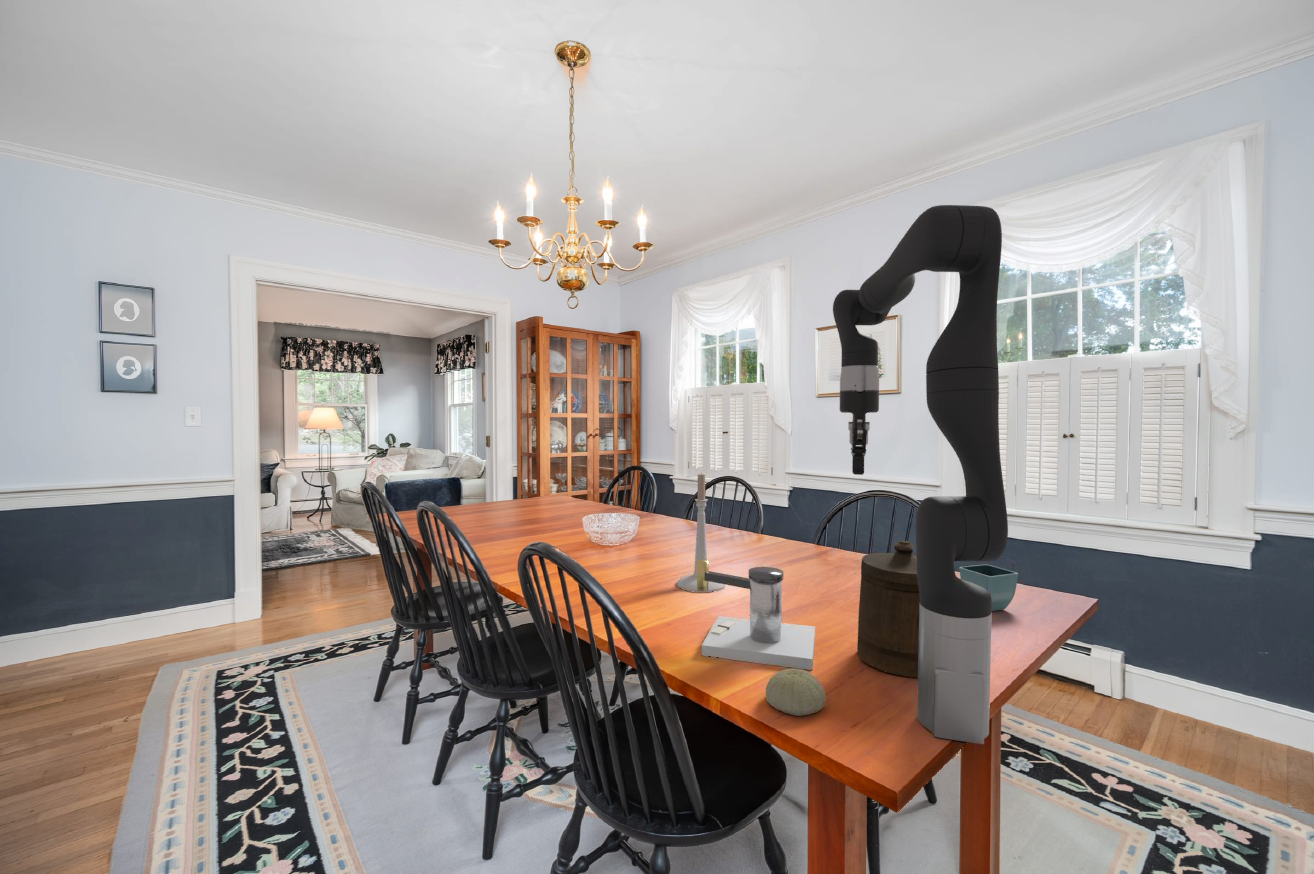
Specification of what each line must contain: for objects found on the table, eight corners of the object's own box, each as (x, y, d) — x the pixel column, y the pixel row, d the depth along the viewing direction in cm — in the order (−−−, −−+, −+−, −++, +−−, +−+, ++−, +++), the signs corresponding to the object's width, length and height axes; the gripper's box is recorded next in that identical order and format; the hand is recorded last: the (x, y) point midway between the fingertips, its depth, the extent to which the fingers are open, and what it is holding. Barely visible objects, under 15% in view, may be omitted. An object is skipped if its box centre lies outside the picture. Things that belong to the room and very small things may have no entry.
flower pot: (957, 603, 134) (957, 566, 134) (985, 599, 137) (986, 563, 136) (988, 616, 126) (989, 576, 125) (1018, 611, 128) (1019, 573, 128)
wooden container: (948, 685, 93) (953, 554, 92) (854, 668, 99) (858, 545, 98) (941, 651, 107) (946, 537, 106) (859, 638, 113) (862, 529, 112)
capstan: (788, 634, 109) (788, 570, 108) (774, 645, 103) (775, 578, 103) (705, 614, 119) (705, 556, 119) (689, 624, 114) (689, 563, 114)
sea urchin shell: (750, 694, 86) (770, 647, 90) (769, 716, 90) (788, 670, 94) (803, 716, 80) (823, 665, 84) (822, 738, 84) (839, 689, 88)
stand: (812, 670, 99) (812, 656, 99) (701, 655, 105) (701, 642, 105) (815, 636, 114) (815, 624, 114) (718, 625, 120) (718, 614, 120)
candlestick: (700, 595, 140) (700, 476, 139) (667, 584, 150) (667, 472, 149) (735, 586, 148) (736, 473, 147) (701, 575, 158) (701, 469, 157)
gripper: (839, 391, 121) (838, 470, 122) (840, 388, 108) (839, 477, 109) (876, 390, 119) (875, 471, 119) (881, 387, 106) (880, 478, 107)
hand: (858, 474), depth 114 cm, fingers closed
